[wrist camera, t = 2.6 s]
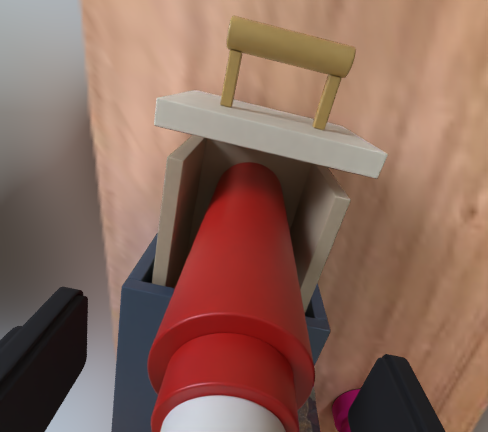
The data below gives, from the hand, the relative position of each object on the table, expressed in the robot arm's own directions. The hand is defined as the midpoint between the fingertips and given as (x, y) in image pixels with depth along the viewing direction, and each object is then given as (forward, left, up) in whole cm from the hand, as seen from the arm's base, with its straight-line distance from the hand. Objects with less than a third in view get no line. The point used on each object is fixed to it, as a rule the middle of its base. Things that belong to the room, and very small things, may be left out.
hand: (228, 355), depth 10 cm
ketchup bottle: (0, 0, -14) cm, 14 cm away
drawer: (-2, 0, -15) cm, 15 cm away
